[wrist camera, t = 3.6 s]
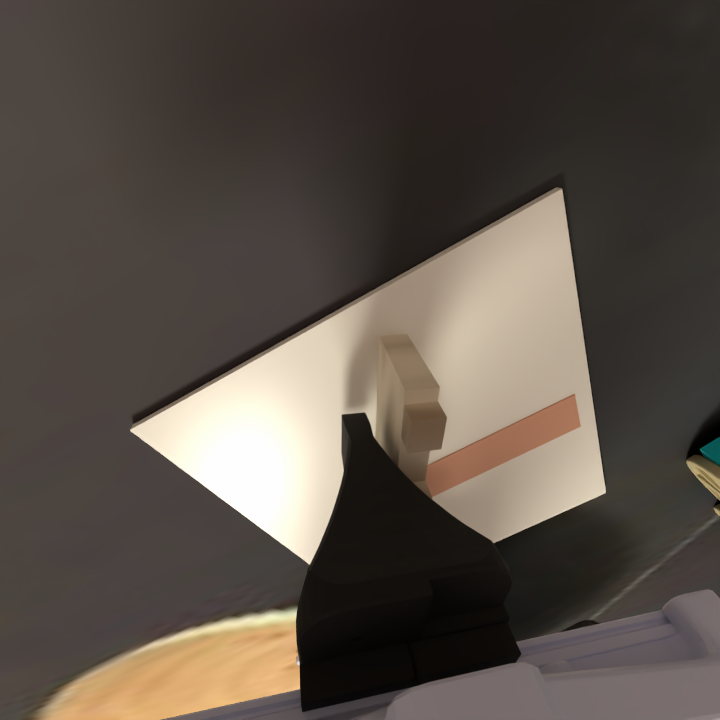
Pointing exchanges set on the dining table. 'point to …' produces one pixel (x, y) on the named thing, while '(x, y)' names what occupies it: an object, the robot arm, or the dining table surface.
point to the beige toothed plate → (407, 408)
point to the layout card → (456, 397)
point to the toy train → (708, 468)
